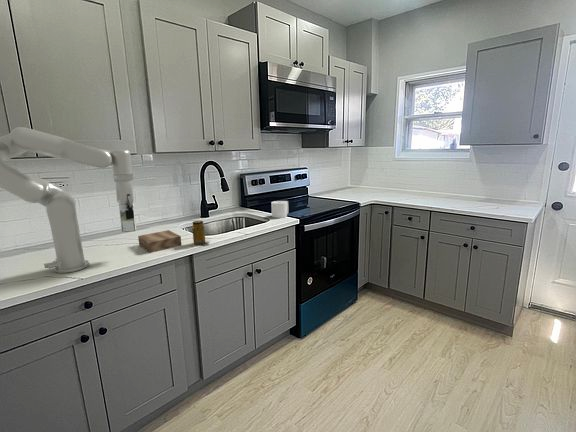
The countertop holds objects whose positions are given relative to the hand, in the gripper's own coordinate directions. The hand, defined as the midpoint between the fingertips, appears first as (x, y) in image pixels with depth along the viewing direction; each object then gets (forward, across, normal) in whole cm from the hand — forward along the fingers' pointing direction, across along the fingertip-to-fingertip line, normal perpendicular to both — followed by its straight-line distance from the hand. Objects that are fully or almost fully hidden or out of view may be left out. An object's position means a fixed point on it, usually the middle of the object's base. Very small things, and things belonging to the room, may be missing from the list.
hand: (127, 216), depth 145 cm
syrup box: (+7, 0, 0) cm, 7 cm away
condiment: (+19, +4, +33) cm, 38 cm away
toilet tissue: (+17, -15, +102) cm, 104 cm away
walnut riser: (+19, -8, +16) cm, 26 cm away
